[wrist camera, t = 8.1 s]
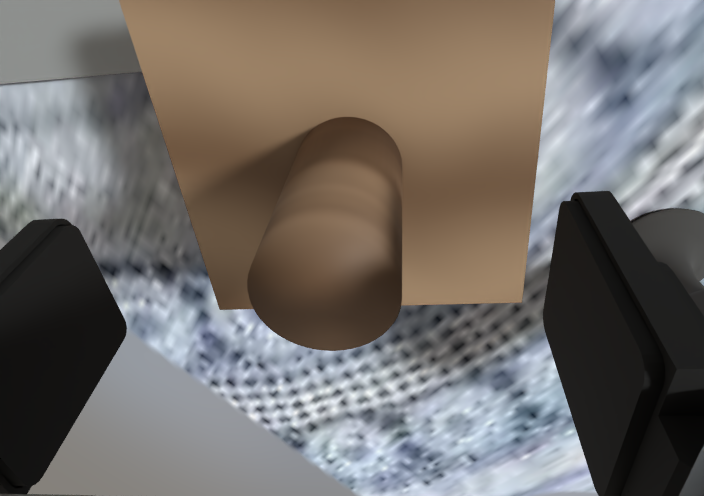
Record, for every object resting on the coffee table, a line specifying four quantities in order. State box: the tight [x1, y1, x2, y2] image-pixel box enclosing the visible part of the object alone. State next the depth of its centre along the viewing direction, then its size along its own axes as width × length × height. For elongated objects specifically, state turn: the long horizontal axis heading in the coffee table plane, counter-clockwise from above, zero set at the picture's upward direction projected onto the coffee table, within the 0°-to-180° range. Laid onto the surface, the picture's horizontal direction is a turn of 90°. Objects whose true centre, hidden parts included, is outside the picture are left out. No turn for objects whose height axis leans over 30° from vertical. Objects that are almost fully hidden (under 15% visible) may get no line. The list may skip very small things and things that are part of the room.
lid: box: [119, 0, 555, 351], centre depth 13 cm, size 11×11×7 cm
